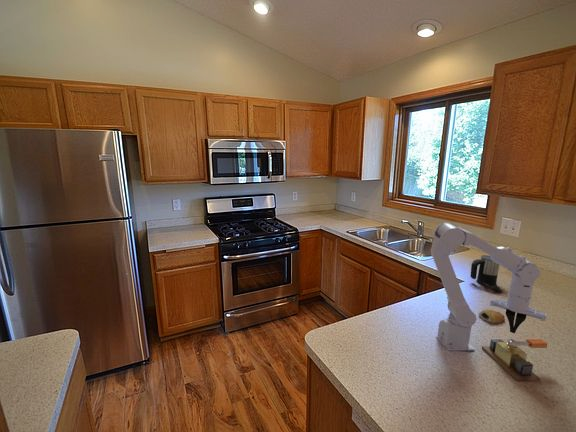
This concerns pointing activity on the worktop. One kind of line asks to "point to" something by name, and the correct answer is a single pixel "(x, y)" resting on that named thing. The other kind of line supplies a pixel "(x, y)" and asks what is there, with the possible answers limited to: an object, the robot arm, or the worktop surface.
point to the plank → (511, 370)
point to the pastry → (491, 316)
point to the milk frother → (486, 272)
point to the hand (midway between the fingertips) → (512, 331)
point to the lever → (527, 343)
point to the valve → (511, 357)
